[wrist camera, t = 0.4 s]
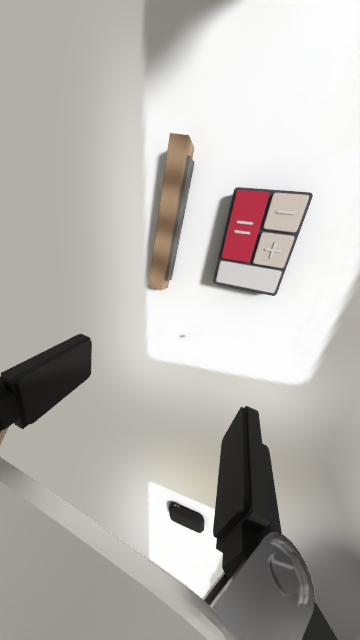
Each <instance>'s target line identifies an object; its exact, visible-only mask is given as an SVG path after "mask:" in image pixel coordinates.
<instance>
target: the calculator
mask: <svg viewBox="0 0 360 640" xmlns="http://www.w3.org/2000/svg"><path fill="white" fill-rule="evenodd" d="M312 196H313V195H312V193H308V192H294V191H281V190H267V189H253V188H239V187H237V188H235V190H234V193H233V197H232V201H231V206H230V210H229V215H228V219H227V223H226V228H225V232H224V237H223V241H222V245H221V250H220V254H219V259H218V263H217V267H216V272H215V276H214V281H213V282H214V284H218V285H223V286H228V287H233V288H238V289H242V290H247V291H252V292H257V293H262V294H267V295H272V296H275V295H276V294H277V291H278V289H279V286H280V283H281V281H282V278H283V275H284V272H285V270H286V267H287V264H288V262H289V259H290V256H291V253H292V251H293V248H294V245H295V243H296V240H297V237H298V234H299V232H300V229H301V226H302V224H303V221H304V218H305V216H306V213H307V210H308V207H309V205H310V202H311V199H312Z"/></svg>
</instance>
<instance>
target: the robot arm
mask: <svg viewBox="0 0 360 640" xmlns="http://www.w3.org/2000/svg"><path fill="white" fill-rule="evenodd" d="M91 349H92V342H91V341H90V338H89V337H87V336H85V335H83V334H78V335H77V336H74V337H72V338H70V339H68V340H66V341H64V342H62V343H60V344H58V345H56V346H54V347H52V348H50V349H48V350H46V351H44V352H42V353H40V354H38V355H36V356H34V357H32V358H30V359H28V360H26V361H24V362H22V363H20V364H18V365H16V366H14V367H12V368H10V369H8V370H6V371H4V372H2V373H1V377H0V445H1V442H2V440H3V438H4V436H5V434H6V431H7V429H8V427H9V426H10V425H11V424H13V423H15V425H17V426H18V427H20V428H22V429H24V428H25V427H26V426H27V425H28V424H32V423H34V422H35V421H37V419H39V418H40V417H41V416H42V415H44V414H45V413H46V412H47V411H49V410H50V409H51V408H52V407H54V406H55V405H56V404H57V403H58V402H60V401H61V400H62V399H63V398H64V397H66V396H67V395H68V394H69V393H71V392H72V391H73V390H74V389H75V388H77V387H78V386H79V385H80V384H81V383H83V382H84V381H85V380H87V379H88V378H89V376H90V374H91ZM213 535H214V537H216V538H217V544H216V549H218V550H219V551H221V552H222V553H223V564H222V568H223V570H224V572H223V573H222V575H221V576H220V577H219V578H218V580H217V581H216V582H215V583H214V585H213V586H212V587H211V588H210V590H209V591H208V592H207V593H206V595H205V596H204V597H203V598H202V599H201V598H200V597H199V596H198V595H196V594H195V593H194V592H193V591H192V590H190V589H189V588H188V587H187V586H186V585H184V584H183V583H182V582H180V581H179V580H177V579H176V578H175V577H173V576H172V575H170V574H169V573H168V572H166V571H165V570H164V569H162V568H161V567H159V566H158V565H157V564H155V563H154V562H153V561H151V560H150V559H148V558H147V557H146V556H144V555H143V554H141V553H140V552H138V551H137V550H135V549H134V548H133V547H131V546H130V545H128V544H127V543H125V542H124V541H122V540H121V539H119V538H118V537H117V536H115V535H114V534H112V533H111V532H109V531H108V530H107V529H105V528H103V527H102V526H101V525H99V524H98V523H96V522H95V521H94V520H92V519H91V518H89V517H88V516H86V515H85V514H83V513H82V512H80V511H79V510H77V509H76V508H74V507H73V506H71V505H70V504H69V503H67V502H66V501H64V500H63V499H61V498H60V497H58V496H57V495H55V494H54V493H53V492H51V491H50V490H48V489H47V488H45V487H44V486H42V485H41V484H39V483H38V482H36V481H35V480H33V479H32V478H30V477H29V476H28V475H26V474H24V473H23V472H22V471H20V470H19V469H17V468H16V467H14V466H13V465H11V464H10V463H8V462H7V461H5V460H4V459H2V458H1V457H0V640H337V638H336V636H335V635H334V633H333V631H332V629H331V628H330V626H329V624H328V623H327V621H326V619H325V618H324V616H323V614H322V613H321V611H320V609H319V608H318V606H317V604H316V603H315V594H314V593H315V592H314V586H313V582H312V578H311V574H310V572H309V570H308V567H307V565H306V563H305V561H304V559H303V557H302V556H301V554H300V552H299V551H298V549H297V548H296V547H295V546H294V544H293V543H292V542H291V541H290V540H289V539H288V538H287V537H285V536H284V535H282V533H281V526H280V520H279V513H278V506H277V499H276V493H275V486H274V480H273V472H272V466H271V459H270V453H269V449H268V447H267V446H266V445H264V444H262V439H261V429H260V421H259V413H258V411H257V410H255V409H252V408H250V407H248V406H246V407H245V408H243V407H241V408H240V410H239V411H238V413H237V415H236V417H235V418H234V420H233V422H232V424H231V425H230V427H229V429H228V431H227V432H226V434H225V436H224V437H223V440H222V445H221V456H220V466H219V476H218V486H217V497H216V507H215V517H214V527H213Z"/></svg>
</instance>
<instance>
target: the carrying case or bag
mask: <svg viewBox="0 0 360 640" xmlns="http://www.w3.org/2000/svg"><path fill="white" fill-rule="evenodd" d="M169 513H170V518H171V520H172V521H174V522H176V523H178V524H181V525H183V526H185V527H187V528H189V529H191V530H194V531H196V532H198V533H201V532H202V531H203V530H204V519H203V516H202V515H201V514H199V513H197V512H195V511H192V510H190V509H188V508H186V507H183V506H181V505H178V504H176V503H171V504H170V505H169Z"/></svg>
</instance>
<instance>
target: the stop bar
mask: <svg viewBox="0 0 360 640" xmlns="http://www.w3.org/2000/svg"><path fill="white" fill-rule="evenodd" d="M193 152H194V146H193V144H192V142H191V139H190V137H189V135H182V134H173V133H170V137H169V144H168V151H167V158H166V165H165V173H164V180H163V187H162V194H161V201H160V208H159V215H158V222H157V230H156V237H155V244H154V251H153V258H152V265H151V272H150V279H149V287H152V288H155V289H158V290H163V289H166V288H168V284H169V280H171V279H172V274H173V269H174V264H175V259H176V254H177V249H178V244H179V239H180V233H181V228H182V223H183V218H184V213H185V208H186V203H187V198H188V193H189V187H190V182H191V177H192V172H193V167H194V161H193V160H192V157H193Z"/></svg>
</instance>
